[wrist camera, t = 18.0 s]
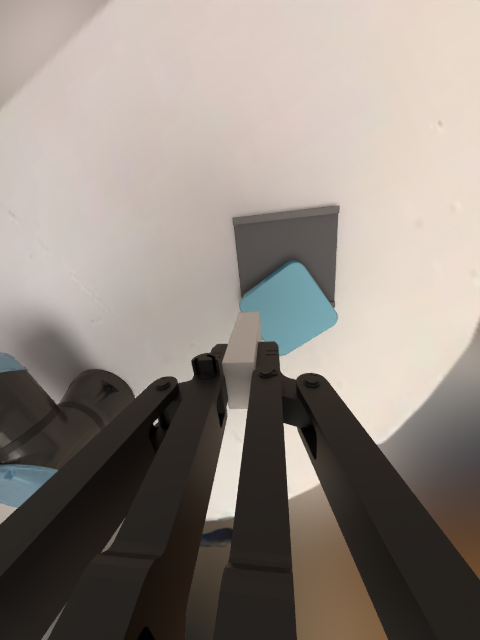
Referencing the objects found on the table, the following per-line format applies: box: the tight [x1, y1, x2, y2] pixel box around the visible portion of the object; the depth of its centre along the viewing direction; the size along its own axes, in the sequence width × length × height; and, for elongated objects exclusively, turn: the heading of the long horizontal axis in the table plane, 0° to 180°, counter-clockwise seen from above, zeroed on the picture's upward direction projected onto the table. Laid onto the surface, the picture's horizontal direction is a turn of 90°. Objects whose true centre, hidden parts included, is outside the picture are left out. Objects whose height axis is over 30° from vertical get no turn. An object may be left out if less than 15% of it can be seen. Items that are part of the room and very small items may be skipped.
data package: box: [239, 260, 338, 356], centre depth 40 cm, size 12×4×12 cm
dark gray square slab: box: [233, 206, 339, 308], centre depth 40 cm, size 16×16×2 cm
